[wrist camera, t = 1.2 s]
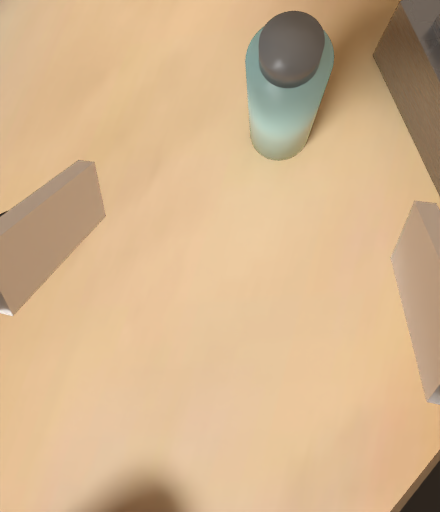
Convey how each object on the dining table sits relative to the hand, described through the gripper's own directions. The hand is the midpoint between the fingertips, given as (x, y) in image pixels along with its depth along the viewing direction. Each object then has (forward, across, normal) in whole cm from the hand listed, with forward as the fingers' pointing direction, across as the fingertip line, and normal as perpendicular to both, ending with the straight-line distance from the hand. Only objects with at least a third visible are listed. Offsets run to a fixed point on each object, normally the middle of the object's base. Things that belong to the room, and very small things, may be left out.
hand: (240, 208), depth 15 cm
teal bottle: (+19, 0, -3) cm, 19 cm away
